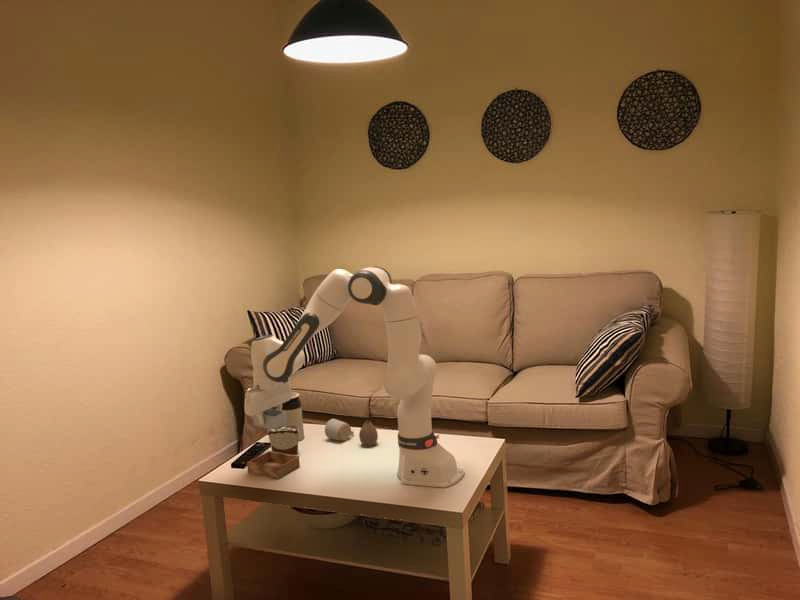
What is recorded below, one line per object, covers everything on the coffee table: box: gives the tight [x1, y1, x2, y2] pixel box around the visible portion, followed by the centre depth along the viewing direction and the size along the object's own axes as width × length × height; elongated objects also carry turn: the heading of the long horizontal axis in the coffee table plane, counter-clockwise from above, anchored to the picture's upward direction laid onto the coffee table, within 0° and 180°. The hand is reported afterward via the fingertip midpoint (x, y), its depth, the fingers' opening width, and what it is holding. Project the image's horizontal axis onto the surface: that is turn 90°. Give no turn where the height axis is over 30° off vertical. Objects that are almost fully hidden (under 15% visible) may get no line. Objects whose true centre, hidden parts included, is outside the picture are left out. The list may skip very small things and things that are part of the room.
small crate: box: [252, 408, 287, 430], centre depth 240 cm, size 10×6×4 cm, turn 58°
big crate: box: [246, 450, 301, 480], centre depth 242 cm, size 14×12×4 cm
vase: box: [358, 421, 379, 448], centre depth 259 cm, size 7×7×9 cm
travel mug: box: [281, 392, 305, 442], centre depth 271 cm, size 8×8×18 cm
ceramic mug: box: [324, 418, 355, 442], centre depth 269 cm, size 11×8×8 cm
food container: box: [266, 425, 300, 456], centre depth 258 cm, size 12×6×10 cm, turn 84°
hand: (270, 420), depth 240 cm, fingers closed on small crate, 6 cm apart
